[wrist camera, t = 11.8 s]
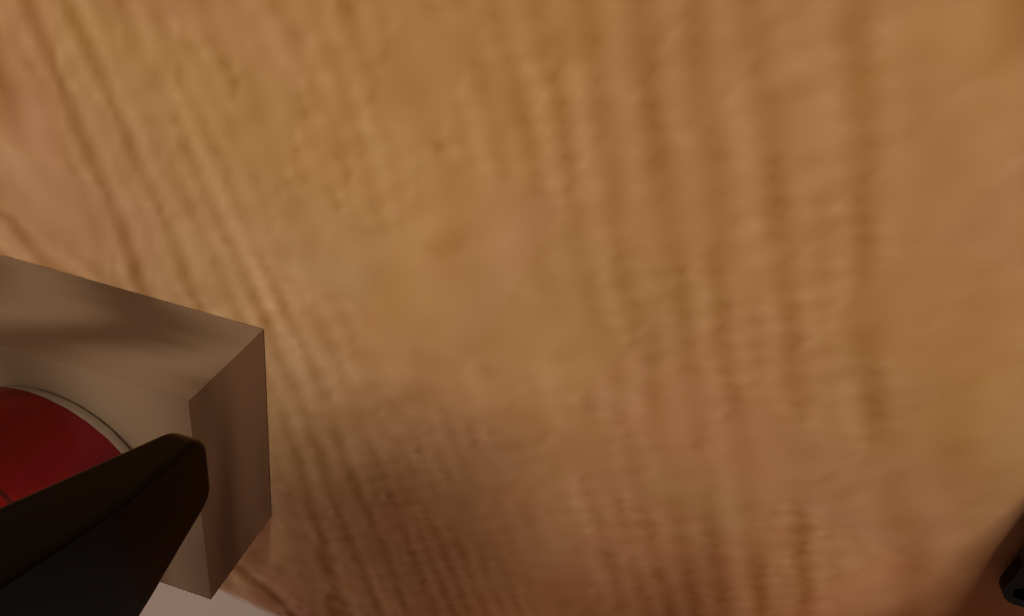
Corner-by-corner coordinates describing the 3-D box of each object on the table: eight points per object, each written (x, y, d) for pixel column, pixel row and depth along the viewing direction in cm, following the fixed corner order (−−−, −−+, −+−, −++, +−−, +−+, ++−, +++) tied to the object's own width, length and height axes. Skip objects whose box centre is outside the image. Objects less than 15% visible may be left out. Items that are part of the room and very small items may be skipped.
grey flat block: (263, 329, 24) (188, 401, 21) (271, 516, 29) (210, 599, 25) (1, 255, 25) (-109, 311, 22) (50, 445, 30) (-35, 515, 27)
